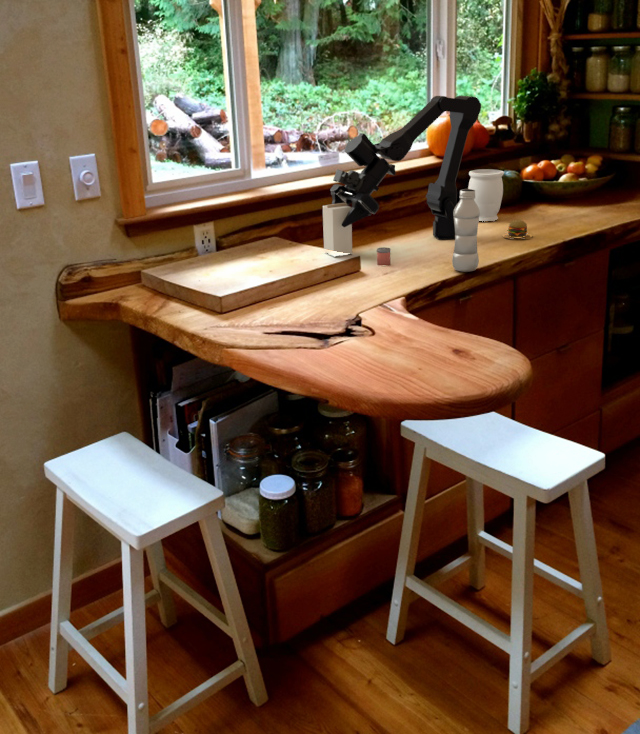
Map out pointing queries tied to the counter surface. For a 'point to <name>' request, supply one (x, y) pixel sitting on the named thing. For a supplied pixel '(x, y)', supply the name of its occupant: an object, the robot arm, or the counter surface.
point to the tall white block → (337, 228)
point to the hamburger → (517, 228)
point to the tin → (383, 256)
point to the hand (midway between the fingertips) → (335, 223)
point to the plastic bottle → (466, 232)
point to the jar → (487, 192)
